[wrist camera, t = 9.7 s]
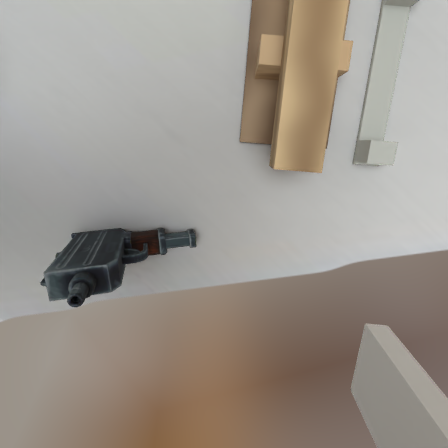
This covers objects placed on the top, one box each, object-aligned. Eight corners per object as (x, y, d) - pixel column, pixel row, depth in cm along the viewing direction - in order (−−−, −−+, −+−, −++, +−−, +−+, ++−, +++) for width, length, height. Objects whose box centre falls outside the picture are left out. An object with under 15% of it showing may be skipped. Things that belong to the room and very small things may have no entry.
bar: (269, 165, 30) (274, 169, 26) (297, -87, 25) (309, -129, 21) (310, 168, 30) (321, 172, 26) (347, -84, 25) (368, -125, 21)
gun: (215, 294, 27) (24, 324, 24) (191, 239, 43) (74, 253, 40) (213, 265, 26) (16, 292, 23) (189, 220, 42) (70, 233, 39)
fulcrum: (239, 141, 37) (240, 141, 30) (253, -16, 33) (258, -60, 26) (324, 148, 37) (345, 150, 29) (348, -9, 33) (380, -52, 25)
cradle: (352, 163, 37) (366, 166, 33) (386, -23, 32) (406, -45, 28) (376, 165, 37) (392, 168, 33) (413, -21, 32) (437, -43, 28)
